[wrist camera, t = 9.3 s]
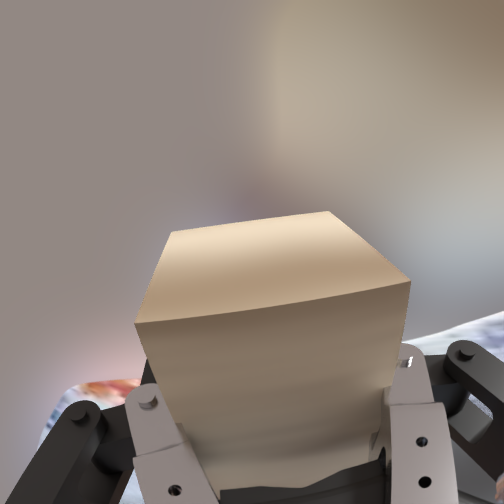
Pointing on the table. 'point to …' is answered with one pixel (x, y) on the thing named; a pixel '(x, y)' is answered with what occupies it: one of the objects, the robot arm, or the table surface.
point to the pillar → (274, 345)
